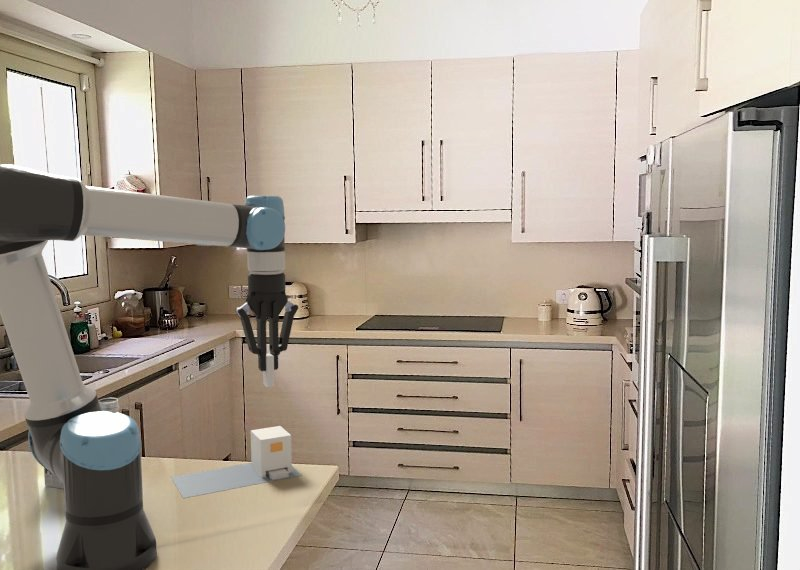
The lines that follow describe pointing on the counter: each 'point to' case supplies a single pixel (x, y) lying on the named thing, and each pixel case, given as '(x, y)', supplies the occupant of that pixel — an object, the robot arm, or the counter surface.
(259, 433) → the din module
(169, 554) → the counter surface
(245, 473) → the panel
